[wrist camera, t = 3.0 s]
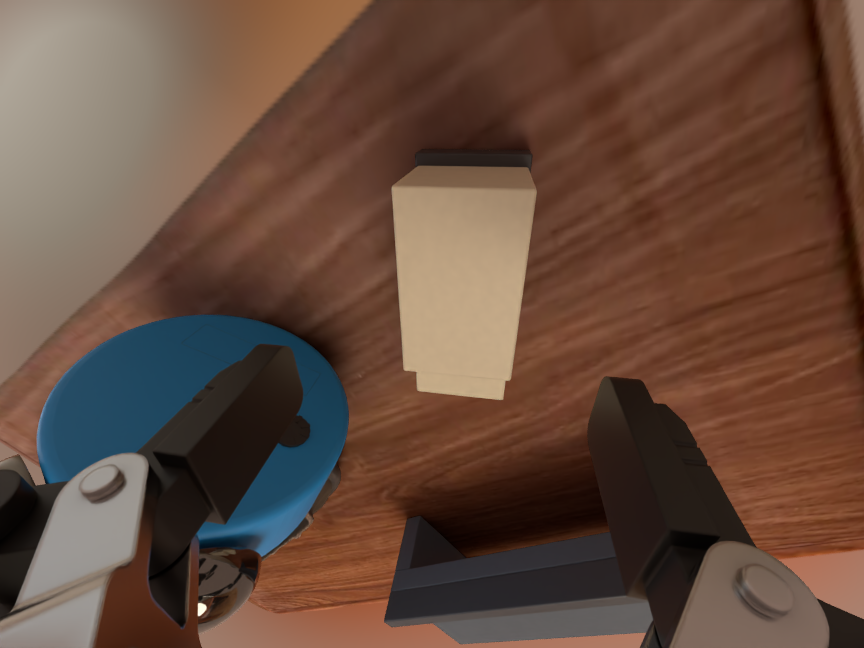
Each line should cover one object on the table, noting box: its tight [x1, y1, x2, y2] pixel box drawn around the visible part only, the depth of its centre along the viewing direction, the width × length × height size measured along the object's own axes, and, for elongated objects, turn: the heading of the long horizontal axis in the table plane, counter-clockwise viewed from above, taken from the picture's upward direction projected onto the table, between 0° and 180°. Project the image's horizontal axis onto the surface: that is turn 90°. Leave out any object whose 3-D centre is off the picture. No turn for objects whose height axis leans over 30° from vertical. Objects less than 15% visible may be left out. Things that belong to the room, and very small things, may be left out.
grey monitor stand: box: [384, 516, 653, 644], centre depth 27 cm, size 22×10×8 cm, turn 127°
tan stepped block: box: [392, 149, 537, 400], centre depth 17 cm, size 12×5×6 cm, turn 1°
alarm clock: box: [0, 315, 349, 635], centre depth 19 cm, size 13×6×15 cm, turn 64°
